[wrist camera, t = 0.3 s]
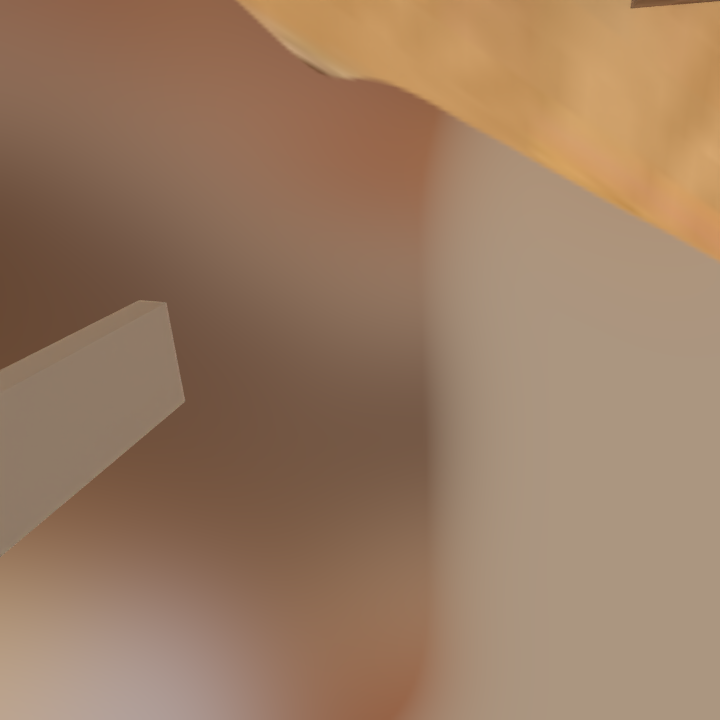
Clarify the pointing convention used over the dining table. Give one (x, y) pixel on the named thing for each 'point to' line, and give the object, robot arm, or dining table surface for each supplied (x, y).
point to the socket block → (663, 2)
